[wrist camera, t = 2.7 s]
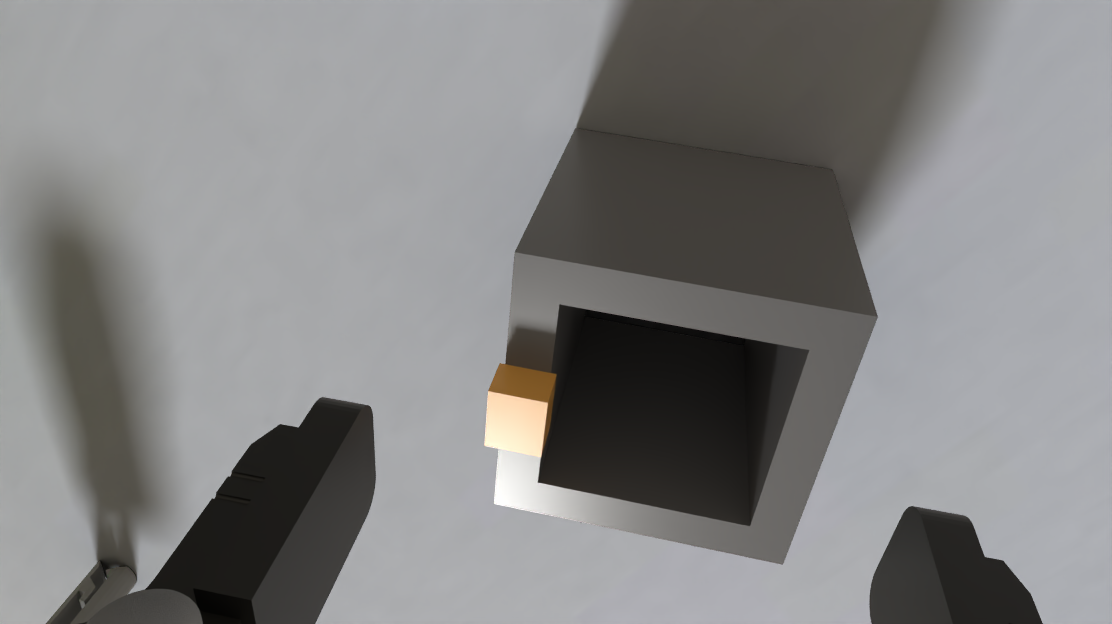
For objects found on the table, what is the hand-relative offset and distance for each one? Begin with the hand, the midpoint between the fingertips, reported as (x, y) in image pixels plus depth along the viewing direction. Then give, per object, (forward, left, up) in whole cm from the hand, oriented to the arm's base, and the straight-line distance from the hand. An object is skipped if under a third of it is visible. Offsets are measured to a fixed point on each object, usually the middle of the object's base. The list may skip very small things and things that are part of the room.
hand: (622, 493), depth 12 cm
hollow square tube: (0, 0, -8) cm, 8 cm away
